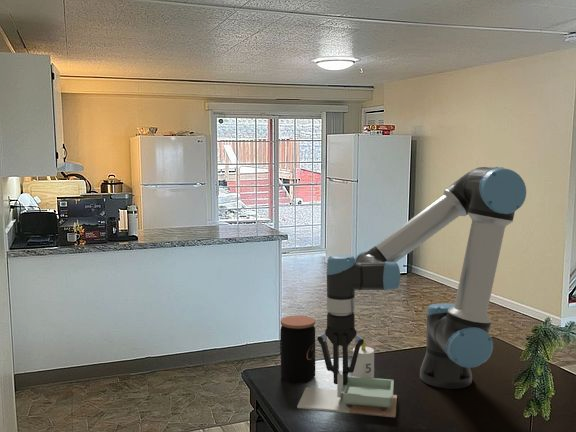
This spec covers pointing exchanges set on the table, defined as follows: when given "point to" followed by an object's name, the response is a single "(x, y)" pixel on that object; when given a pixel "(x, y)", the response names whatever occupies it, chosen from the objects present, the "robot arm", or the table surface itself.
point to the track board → (339, 403)
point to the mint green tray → (368, 392)
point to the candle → (364, 362)
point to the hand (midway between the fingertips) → (340, 395)
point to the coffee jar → (297, 349)
